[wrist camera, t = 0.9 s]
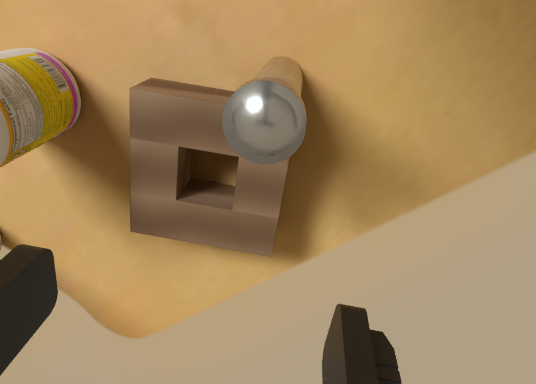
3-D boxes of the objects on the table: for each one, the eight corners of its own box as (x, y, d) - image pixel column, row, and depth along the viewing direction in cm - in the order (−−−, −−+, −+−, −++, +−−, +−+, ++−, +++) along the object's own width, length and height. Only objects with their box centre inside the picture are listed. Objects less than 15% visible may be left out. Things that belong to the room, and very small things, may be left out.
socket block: (151, 77, 30) (129, 88, 26) (298, 102, 29) (296, 116, 26) (149, 207, 34) (130, 231, 31) (275, 229, 34) (271, 256, 31)
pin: (259, 46, 28) (226, 74, 17) (313, 55, 28) (314, 89, 17) (252, 100, 30) (218, 156, 19) (303, 108, 30) (298, 170, 19)
